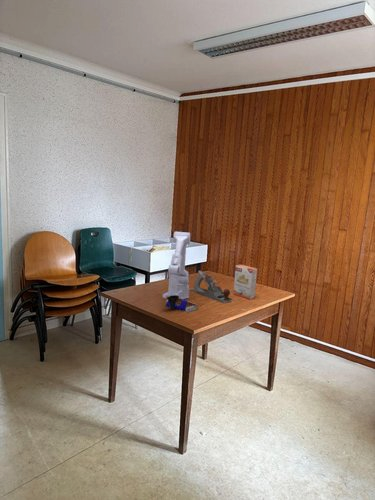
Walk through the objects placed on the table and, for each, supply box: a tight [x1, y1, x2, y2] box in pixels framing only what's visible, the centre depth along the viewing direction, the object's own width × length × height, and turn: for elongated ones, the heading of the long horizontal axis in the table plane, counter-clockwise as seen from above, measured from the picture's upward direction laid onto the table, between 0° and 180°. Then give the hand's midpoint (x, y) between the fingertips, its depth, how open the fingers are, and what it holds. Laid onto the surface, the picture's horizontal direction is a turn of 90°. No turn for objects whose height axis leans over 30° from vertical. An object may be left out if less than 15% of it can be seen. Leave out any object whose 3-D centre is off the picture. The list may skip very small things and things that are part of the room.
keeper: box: [165, 298, 199, 313], centre depth 220 cm, size 9×18×3 cm, turn 46°
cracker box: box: [233, 264, 258, 300], centre depth 249 cm, size 14×6×21 cm, turn 45°
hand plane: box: [189, 270, 234, 304], centre depth 247 cm, size 9×33×15 cm, turn 42°
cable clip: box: [165, 299, 188, 312], centre depth 217 cm, size 12×4×6 cm, turn 50°
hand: (172, 307), depth 215 cm, fingers closed
